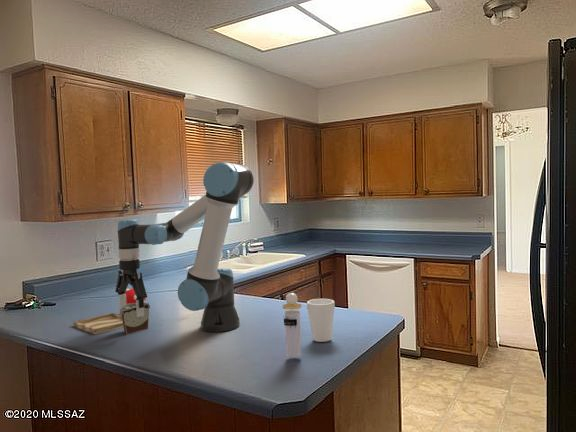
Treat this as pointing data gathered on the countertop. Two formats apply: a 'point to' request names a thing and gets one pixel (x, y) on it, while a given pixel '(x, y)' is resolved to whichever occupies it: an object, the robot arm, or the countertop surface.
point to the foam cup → (321, 318)
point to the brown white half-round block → (134, 319)
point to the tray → (100, 323)
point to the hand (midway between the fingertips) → (131, 313)
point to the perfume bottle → (292, 326)
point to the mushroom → (131, 297)
